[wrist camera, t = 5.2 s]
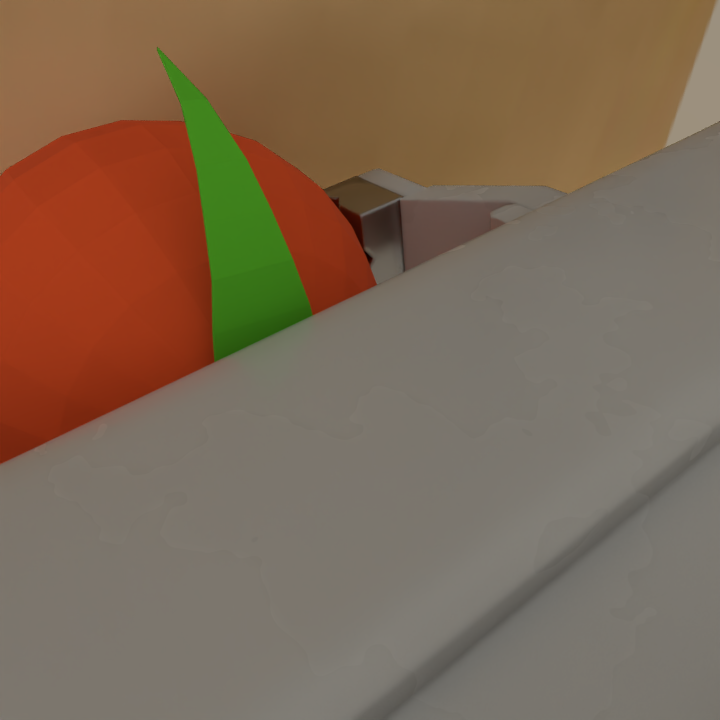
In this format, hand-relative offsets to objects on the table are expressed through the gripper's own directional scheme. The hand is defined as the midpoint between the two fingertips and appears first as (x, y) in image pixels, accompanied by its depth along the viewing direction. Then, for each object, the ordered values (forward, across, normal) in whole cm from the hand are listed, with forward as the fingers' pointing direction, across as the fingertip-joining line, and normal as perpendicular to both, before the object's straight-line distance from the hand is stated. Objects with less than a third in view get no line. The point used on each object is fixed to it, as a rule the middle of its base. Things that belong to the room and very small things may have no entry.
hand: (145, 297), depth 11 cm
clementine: (+3, 0, 0) cm, 3 cm away
